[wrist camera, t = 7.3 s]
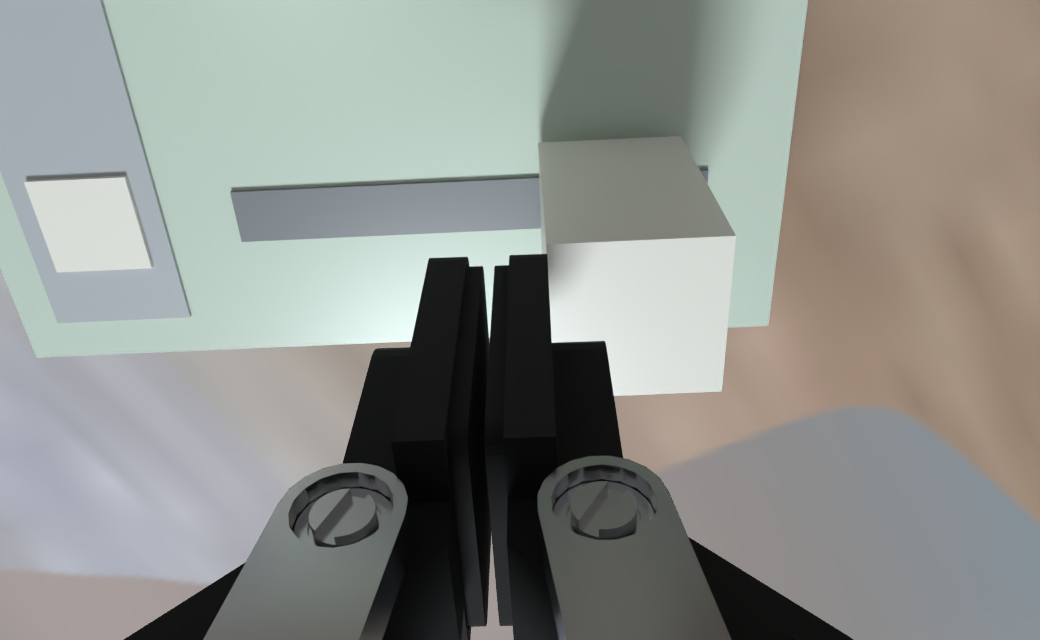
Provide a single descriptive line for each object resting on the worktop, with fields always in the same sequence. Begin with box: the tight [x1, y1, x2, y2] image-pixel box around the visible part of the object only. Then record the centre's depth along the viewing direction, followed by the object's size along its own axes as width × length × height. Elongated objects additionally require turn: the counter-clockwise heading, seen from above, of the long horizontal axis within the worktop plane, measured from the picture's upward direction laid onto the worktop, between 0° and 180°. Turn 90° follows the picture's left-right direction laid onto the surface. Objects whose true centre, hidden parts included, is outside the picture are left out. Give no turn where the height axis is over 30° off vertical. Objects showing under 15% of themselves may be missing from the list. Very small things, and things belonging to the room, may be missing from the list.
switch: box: [538, 136, 736, 396], centre depth 16 cm, size 3×3×5 cm
